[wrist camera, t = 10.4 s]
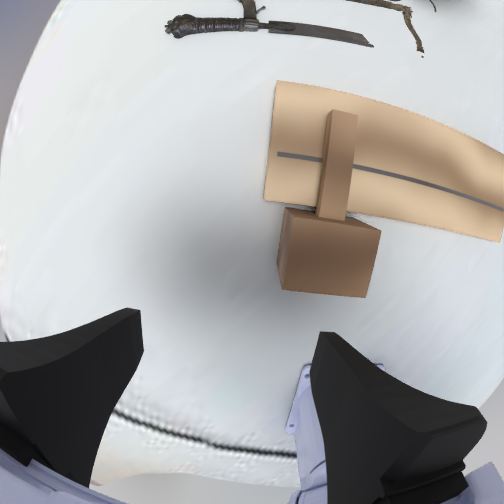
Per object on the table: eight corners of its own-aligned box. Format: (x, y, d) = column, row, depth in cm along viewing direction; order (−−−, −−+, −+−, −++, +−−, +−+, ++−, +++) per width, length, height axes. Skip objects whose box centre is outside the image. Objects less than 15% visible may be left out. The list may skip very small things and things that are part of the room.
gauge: (342, 270, 20) (365, 297, 15) (276, 262, 20) (282, 289, 15) (364, 130, 17) (395, 117, 12) (296, 115, 17) (309, 95, 12)
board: (490, 239, 19) (500, 243, 17) (263, 198, 19) (263, 200, 17) (499, 158, 17) (510, 158, 15) (275, 87, 17) (277, 79, 15)
